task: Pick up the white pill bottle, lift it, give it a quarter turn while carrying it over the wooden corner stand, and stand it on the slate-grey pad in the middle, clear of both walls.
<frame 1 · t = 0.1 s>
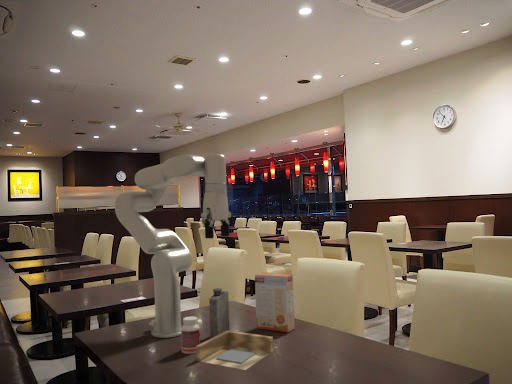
hand: (217, 237, 149), 37 cm above the table, tool pointing down, fingers open, 9 cm apart
flask: (219, 339, 151), on the table
wooden corner stand: (236, 358, 131), on the table
slate pad: (236, 356, 131), resting on wooden corner stand
cracker box: (275, 329, 161), on the table
pill bottle: (191, 352, 138), on the table
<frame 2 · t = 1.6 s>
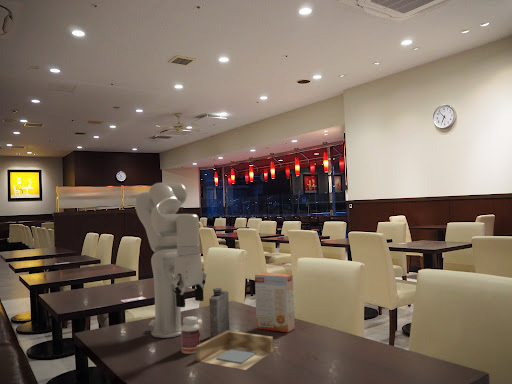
hand: (190, 303, 139), 16 cm above the table, tool pointing down, fingers open, 9 cm apart
nothing on the table moved.
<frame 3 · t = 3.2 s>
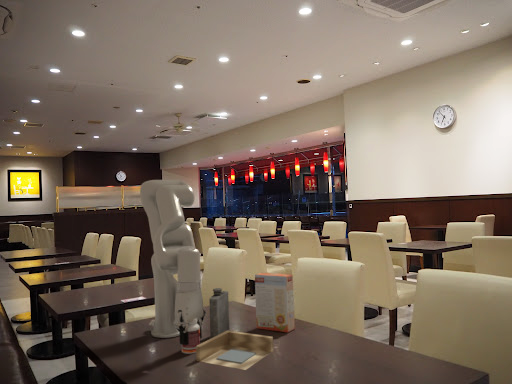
hand: (190, 340, 139), 4 cm above the table, tool pointing down, fingers closed on pill bottle, 6 cm apart
pill bottle: (191, 352, 138), on the table, touching gripper
everything else where it was.
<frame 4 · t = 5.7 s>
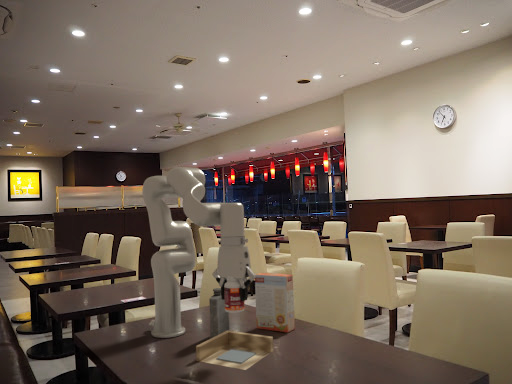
hand: (234, 299, 132), 18 cm above the table, tool pointing down, fingers closed on pill bottle, 6 cm apart
pill bottle: (234, 311, 132), point 15 cm above the table, touching gripper
everything else where it was.
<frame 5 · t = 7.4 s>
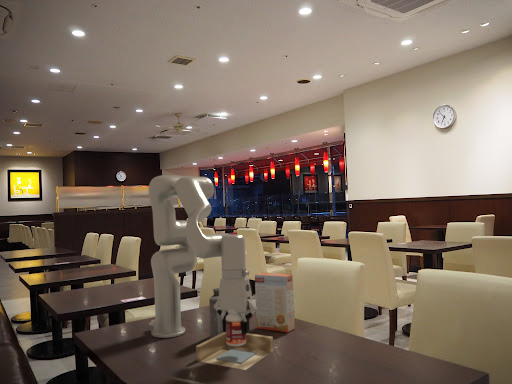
hand: (235, 331, 131), 8 cm above the table, tool pointing down, fingers closed on pill bottle, 6 cm apart
pill bottle: (236, 344, 131), point 4 cm above the table, touching gripper
everything else where it was.
when the fingers open (5 cm above the table, at t = 8.5 s): pill bottle stays where it is, resting on slate pad.
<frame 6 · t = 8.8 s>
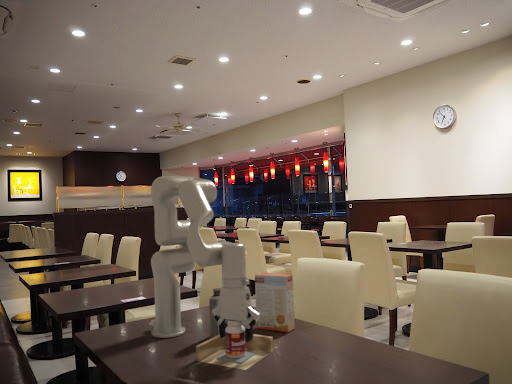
hand: (236, 338, 131), 6 cm above the table, tool pointing down, fingers open, 9 cm apart
pill bottle: (235, 355, 131), point 1 cm above the table, touching slate pad
everything else where it was.
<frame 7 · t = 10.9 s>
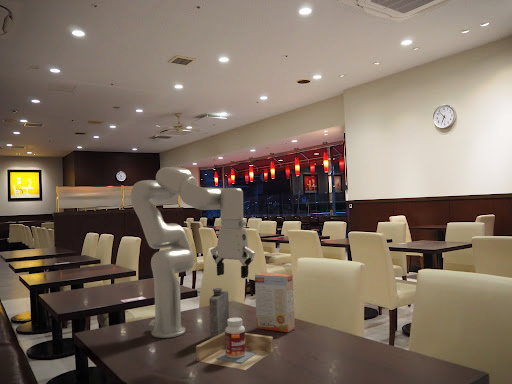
hand: (232, 276, 141), 24 cm above the table, tool pointing down, fingers open, 9 cm apart
nothing on the table moved.
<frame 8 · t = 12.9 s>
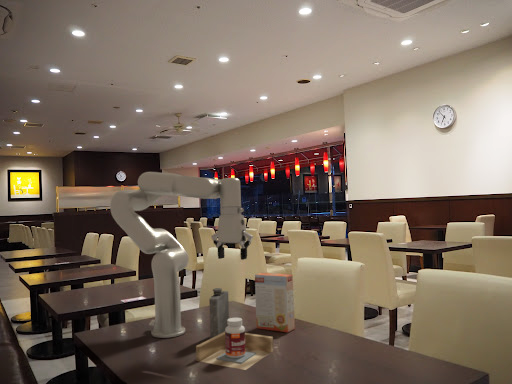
hand: (232, 258, 154), 28 cm above the table, tool pointing down, fingers open, 9 cm apart
nothing on the table moved.
at the end: pill bottle 0.3 cm from the slate pad (horizontally); pill bottle tilted 0°; pill bottle point 0.8 cm above the table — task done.
